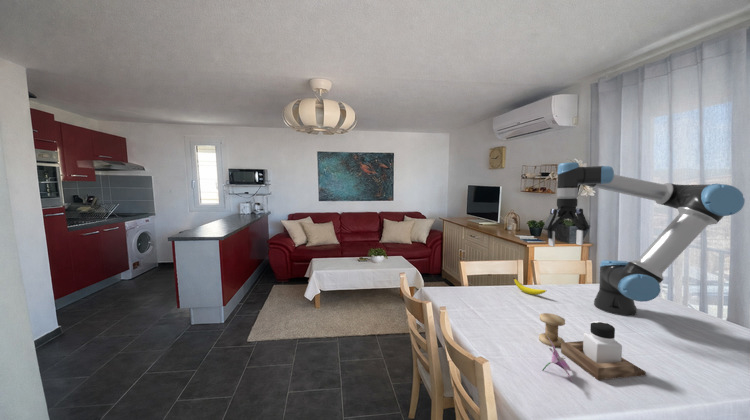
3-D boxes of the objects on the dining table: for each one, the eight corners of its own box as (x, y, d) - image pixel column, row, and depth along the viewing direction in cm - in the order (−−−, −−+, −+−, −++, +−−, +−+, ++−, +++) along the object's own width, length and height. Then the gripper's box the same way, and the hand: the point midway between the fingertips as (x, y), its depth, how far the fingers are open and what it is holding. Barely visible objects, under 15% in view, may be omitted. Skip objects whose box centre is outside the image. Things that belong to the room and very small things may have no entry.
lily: (561, 394, 77) (581, 369, 75) (523, 360, 86) (540, 336, 84) (571, 387, 85) (590, 364, 83) (535, 356, 94) (552, 334, 92)
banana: (544, 300, 140) (544, 288, 140) (511, 288, 157) (511, 278, 157) (548, 299, 142) (548, 287, 141) (515, 288, 159) (515, 277, 158)
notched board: (602, 349, 97) (603, 339, 97) (645, 375, 83) (646, 364, 83) (561, 352, 95) (561, 342, 95) (597, 380, 81) (598, 368, 81)
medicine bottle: (621, 367, 85) (623, 330, 84) (596, 365, 86) (598, 328, 85) (605, 353, 92) (606, 319, 91) (582, 352, 93) (583, 318, 92)
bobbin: (553, 335, 107) (553, 312, 106) (569, 346, 99) (570, 322, 98) (534, 336, 106) (534, 313, 105) (549, 348, 98) (550, 323, 97)
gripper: (585, 197, 126) (583, 242, 127) (535, 198, 123) (533, 244, 125) (600, 197, 119) (598, 245, 120) (547, 198, 116) (545, 247, 117)
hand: (565, 245), depth 122 cm, fingers open, 13 cm apart
